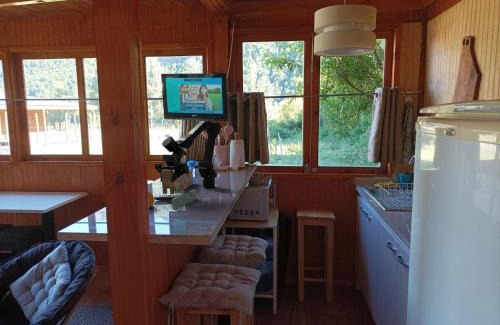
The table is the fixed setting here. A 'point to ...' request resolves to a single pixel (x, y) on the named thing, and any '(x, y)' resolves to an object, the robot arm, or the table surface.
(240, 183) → the table surface
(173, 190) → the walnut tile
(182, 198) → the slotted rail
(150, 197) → the fruit
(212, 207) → the table surface
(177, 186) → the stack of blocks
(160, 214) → the table surface
